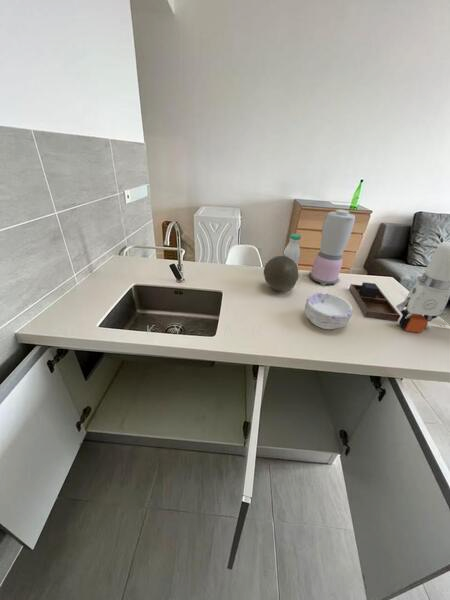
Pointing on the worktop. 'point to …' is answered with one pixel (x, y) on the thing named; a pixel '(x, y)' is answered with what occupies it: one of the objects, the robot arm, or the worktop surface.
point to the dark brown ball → (281, 273)
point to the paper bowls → (328, 310)
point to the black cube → (369, 290)
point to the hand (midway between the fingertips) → (410, 326)
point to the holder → (374, 305)
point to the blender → (332, 246)
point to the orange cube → (416, 323)
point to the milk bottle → (293, 248)
